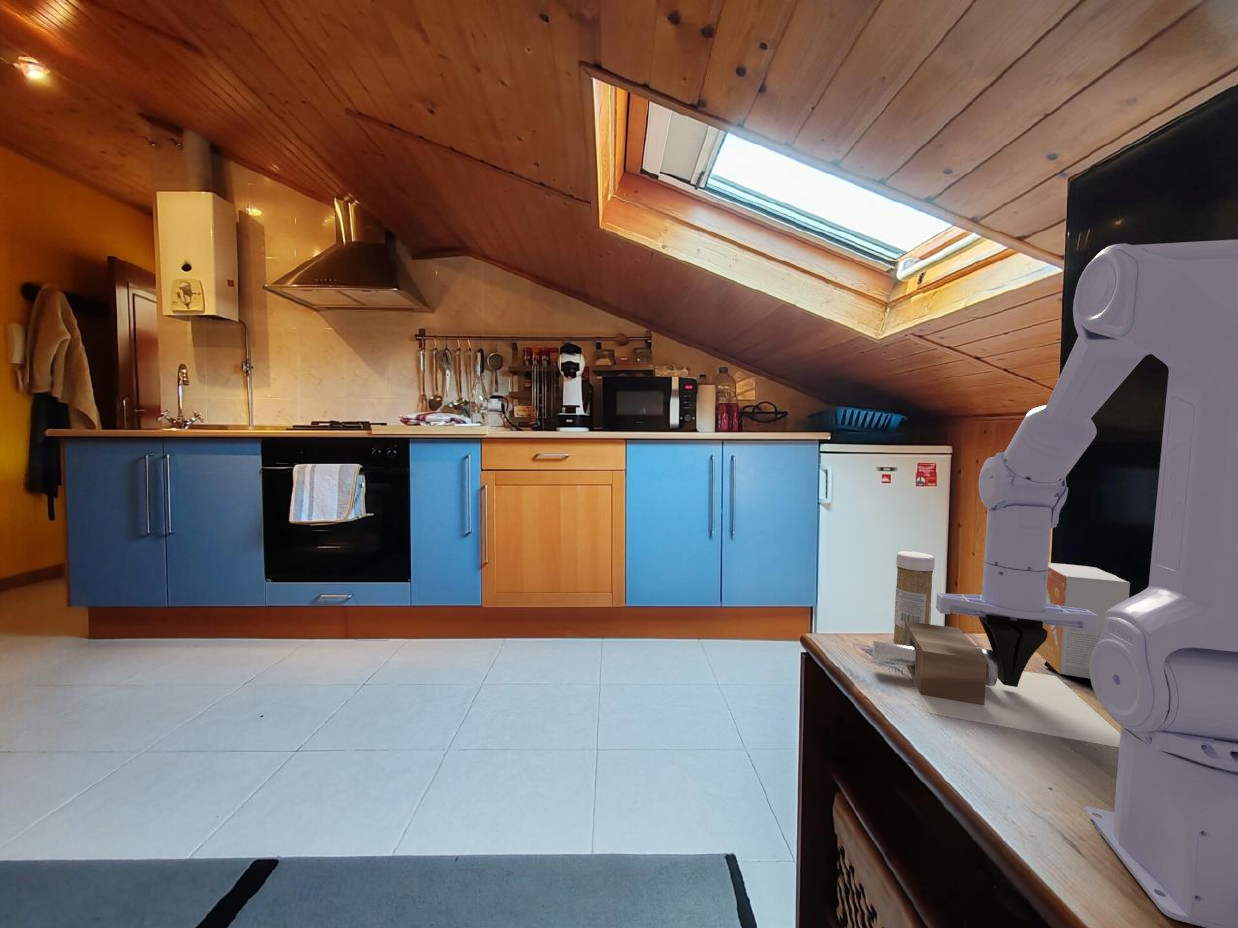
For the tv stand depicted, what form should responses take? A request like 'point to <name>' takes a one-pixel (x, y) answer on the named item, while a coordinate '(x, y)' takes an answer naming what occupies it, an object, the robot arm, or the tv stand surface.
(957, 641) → the block
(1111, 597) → the small box
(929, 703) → the board
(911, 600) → the sprinkles bottle
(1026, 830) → the tv stand surface
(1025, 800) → the tv stand surface
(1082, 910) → the tv stand surface
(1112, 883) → the tv stand surface
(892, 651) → the pin
